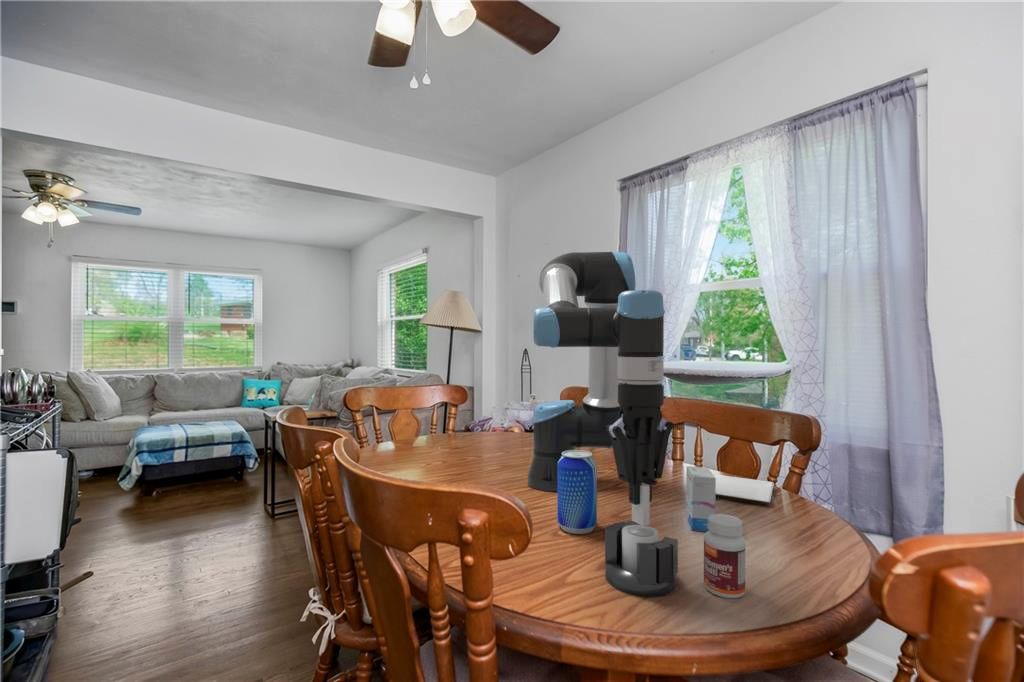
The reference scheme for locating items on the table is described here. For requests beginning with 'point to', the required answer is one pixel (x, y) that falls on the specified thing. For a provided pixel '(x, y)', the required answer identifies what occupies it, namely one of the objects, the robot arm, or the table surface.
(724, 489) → the plate
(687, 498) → the ink box
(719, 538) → the pill bottle
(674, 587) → the dark faceted crown
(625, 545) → the cap
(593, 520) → the beer can
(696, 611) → the table surface
